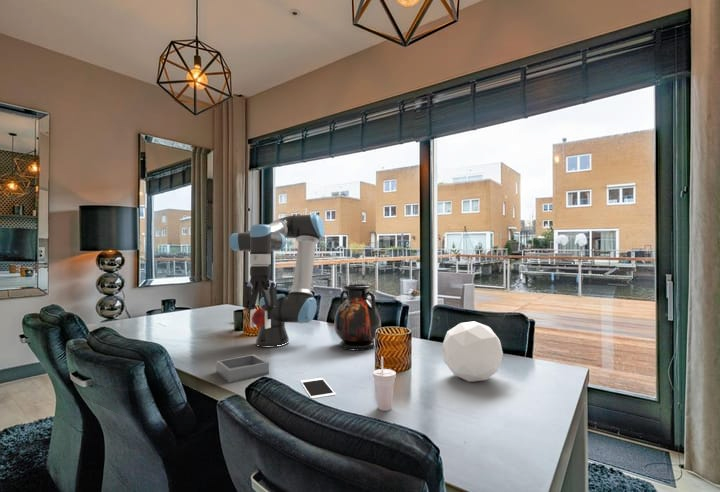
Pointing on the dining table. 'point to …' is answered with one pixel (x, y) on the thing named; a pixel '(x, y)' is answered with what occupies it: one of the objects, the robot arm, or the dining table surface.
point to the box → (242, 368)
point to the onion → (259, 317)
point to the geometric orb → (472, 351)
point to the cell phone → (317, 388)
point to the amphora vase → (357, 318)
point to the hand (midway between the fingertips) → (260, 327)
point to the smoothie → (384, 387)
